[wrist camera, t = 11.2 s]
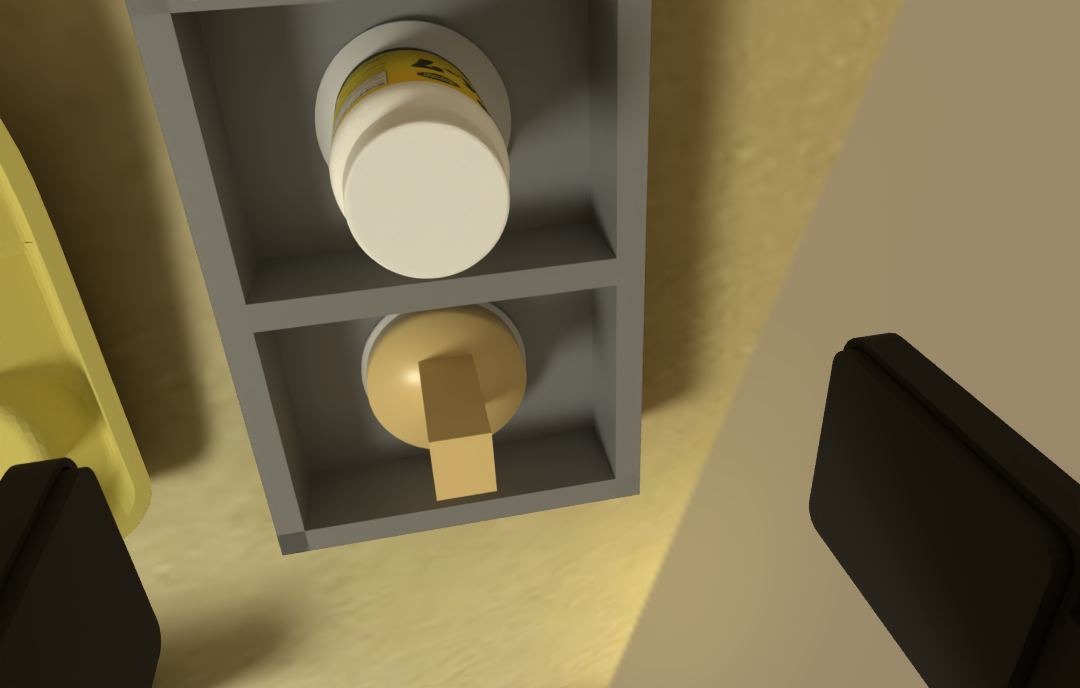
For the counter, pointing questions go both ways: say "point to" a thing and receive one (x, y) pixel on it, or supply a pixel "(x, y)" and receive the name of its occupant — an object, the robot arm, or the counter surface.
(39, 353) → the plastic component
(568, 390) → the grey divided bin
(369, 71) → the supplement bottle
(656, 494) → the counter surface
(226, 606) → the counter surface
